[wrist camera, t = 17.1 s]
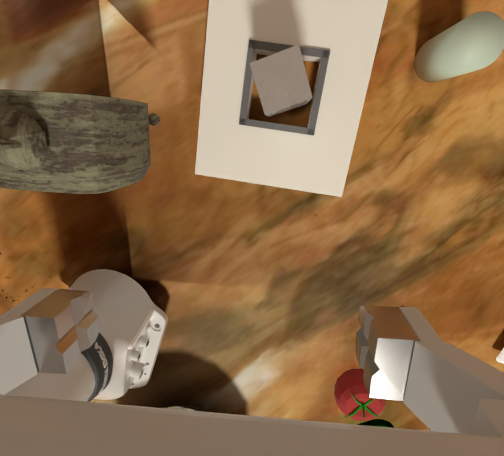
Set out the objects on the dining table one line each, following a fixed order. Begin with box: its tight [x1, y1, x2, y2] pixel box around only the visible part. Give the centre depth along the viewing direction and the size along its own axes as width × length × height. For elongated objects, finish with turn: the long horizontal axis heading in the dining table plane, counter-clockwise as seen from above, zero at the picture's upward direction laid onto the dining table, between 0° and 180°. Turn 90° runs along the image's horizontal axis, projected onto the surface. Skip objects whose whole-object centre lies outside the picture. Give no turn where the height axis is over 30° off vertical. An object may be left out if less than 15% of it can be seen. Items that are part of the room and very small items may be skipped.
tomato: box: [334, 369, 385, 421], centre depth 51 cm, size 8×8×8 cm
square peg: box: [249, 44, 312, 117], centre depth 36 cm, size 5×5×11 cm
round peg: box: [414, 11, 504, 82], centre depth 35 cm, size 5×5×9 cm
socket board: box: [195, 0, 388, 197], centre depth 40 cm, size 24×20×3 cm
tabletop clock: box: [0, 90, 160, 194], centre depth 34 cm, size 14×9×25 cm, turn 87°
